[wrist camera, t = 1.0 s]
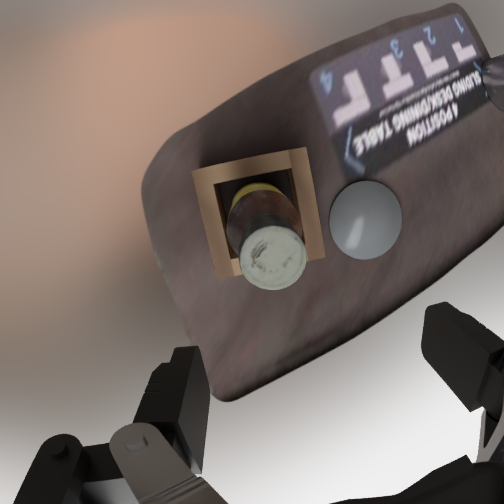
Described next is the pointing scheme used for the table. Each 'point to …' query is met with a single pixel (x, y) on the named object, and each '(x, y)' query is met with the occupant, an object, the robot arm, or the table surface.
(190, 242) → the table surface
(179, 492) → the robot arm
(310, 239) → the walnut holder
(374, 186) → the slate coaster
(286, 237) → the sauce bottle
